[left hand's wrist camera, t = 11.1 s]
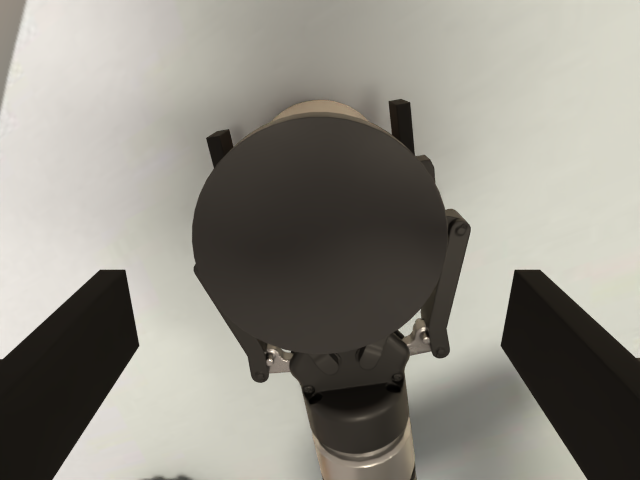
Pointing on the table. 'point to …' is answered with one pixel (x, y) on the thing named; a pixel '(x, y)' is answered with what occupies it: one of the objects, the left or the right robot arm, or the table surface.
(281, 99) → the table surface
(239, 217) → the lid
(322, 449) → the right robot arm
